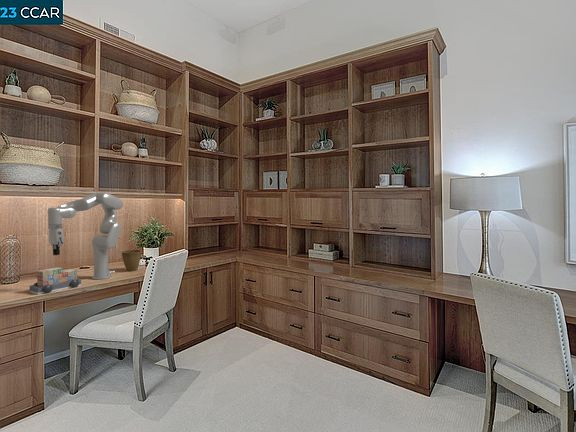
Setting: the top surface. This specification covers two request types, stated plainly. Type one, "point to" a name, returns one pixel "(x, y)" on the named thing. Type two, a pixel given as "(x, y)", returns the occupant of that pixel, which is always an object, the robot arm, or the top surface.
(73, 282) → the chassis
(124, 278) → the top surface
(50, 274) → the stack of blocks
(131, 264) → the plant pot
